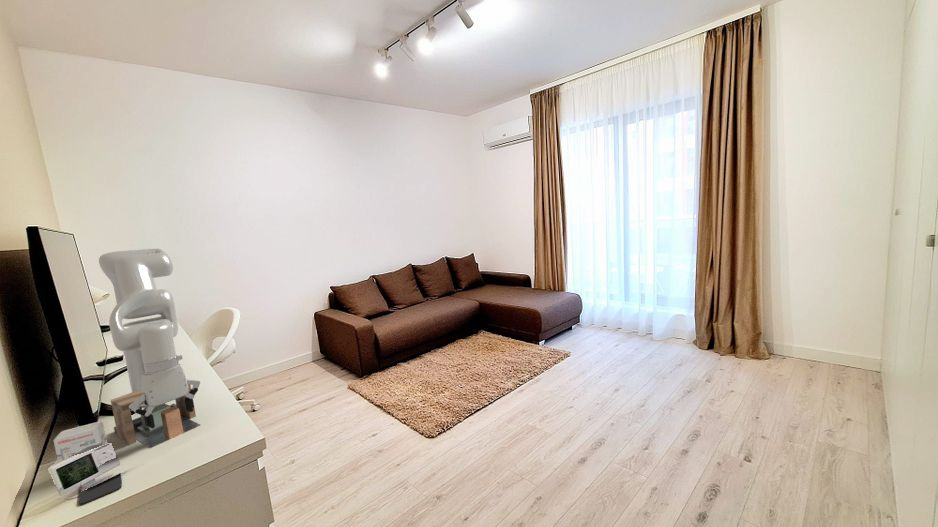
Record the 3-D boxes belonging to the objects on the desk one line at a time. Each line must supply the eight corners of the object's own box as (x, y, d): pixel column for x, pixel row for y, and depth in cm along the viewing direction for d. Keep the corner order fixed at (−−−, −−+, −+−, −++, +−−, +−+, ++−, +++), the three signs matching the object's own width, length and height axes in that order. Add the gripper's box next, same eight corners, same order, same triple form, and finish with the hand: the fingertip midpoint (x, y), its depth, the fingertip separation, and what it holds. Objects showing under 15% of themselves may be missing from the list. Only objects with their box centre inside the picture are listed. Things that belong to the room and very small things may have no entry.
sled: (128, 436, 113) (122, 410, 112) (177, 416, 124) (172, 391, 123) (150, 451, 104) (144, 422, 103) (201, 427, 115) (196, 401, 114)
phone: (120, 462, 100) (121, 486, 90) (120, 465, 100) (122, 490, 90) (81, 477, 95) (78, 505, 84) (82, 480, 95) (79, 508, 84)
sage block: (143, 428, 116) (139, 411, 115) (166, 419, 121) (162, 402, 120) (150, 433, 113) (147, 415, 112) (173, 423, 118) (170, 406, 117)
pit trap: (115, 435, 115) (113, 427, 115) (175, 411, 129) (174, 403, 128) (120, 439, 113) (118, 430, 112) (181, 414, 126) (179, 406, 126)
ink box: (60, 482, 94) (50, 440, 93) (68, 472, 98) (59, 431, 97) (105, 468, 99) (97, 427, 97) (111, 459, 103) (103, 420, 101)
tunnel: (118, 440, 112) (110, 399, 111) (183, 413, 127) (176, 377, 125) (130, 448, 107) (122, 406, 105) (196, 419, 121) (189, 381, 120)
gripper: (189, 353, 117) (198, 403, 119) (118, 374, 102) (129, 431, 104) (200, 356, 113) (209, 407, 115) (128, 378, 99) (139, 436, 100)
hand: (171, 418), depth 110 cm, fingers open, 9 cm apart
